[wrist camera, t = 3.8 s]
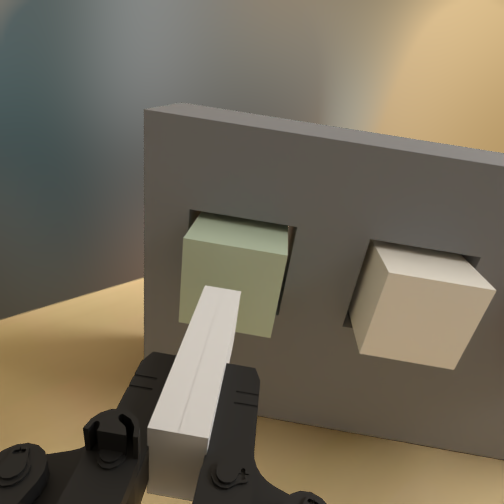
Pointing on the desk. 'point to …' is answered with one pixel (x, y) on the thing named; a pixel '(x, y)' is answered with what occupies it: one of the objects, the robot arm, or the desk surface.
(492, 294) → the cream button
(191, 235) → the sage green button
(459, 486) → the desk surface
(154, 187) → the button panel
